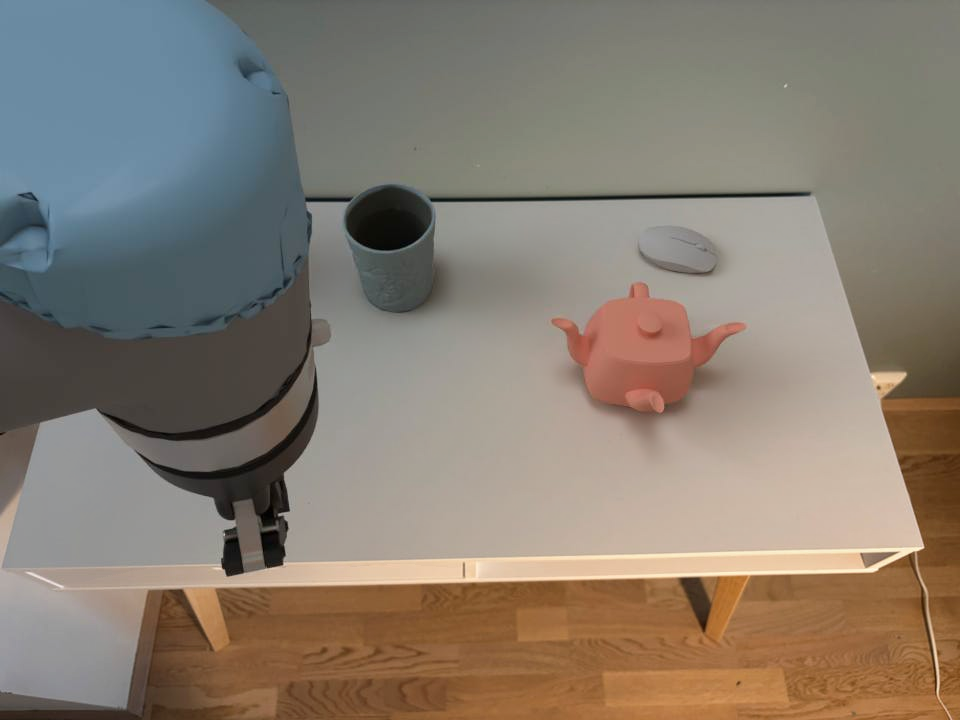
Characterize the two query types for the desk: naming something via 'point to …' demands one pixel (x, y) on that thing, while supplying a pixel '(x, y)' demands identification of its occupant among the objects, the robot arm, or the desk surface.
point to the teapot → (641, 350)
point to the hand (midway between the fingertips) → (267, 504)
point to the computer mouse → (678, 249)
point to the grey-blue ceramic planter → (392, 244)
